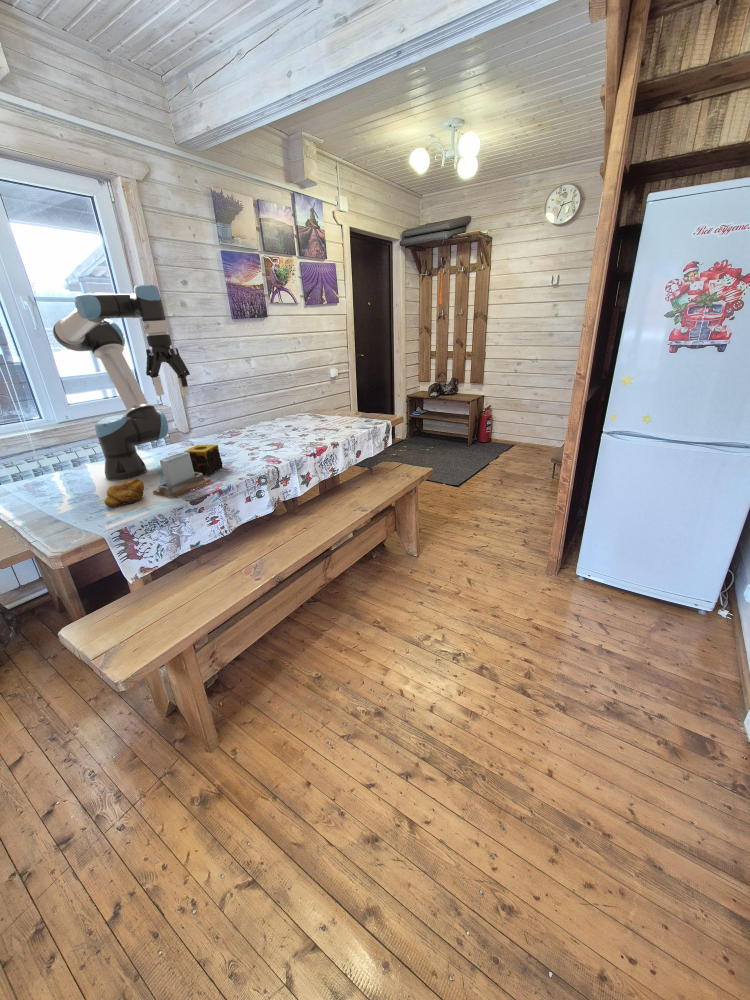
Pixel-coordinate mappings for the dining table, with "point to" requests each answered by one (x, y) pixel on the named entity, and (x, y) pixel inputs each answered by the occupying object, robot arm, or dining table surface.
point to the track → (182, 486)
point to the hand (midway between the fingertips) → (172, 395)
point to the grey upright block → (177, 468)
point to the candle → (205, 459)
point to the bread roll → (124, 493)
